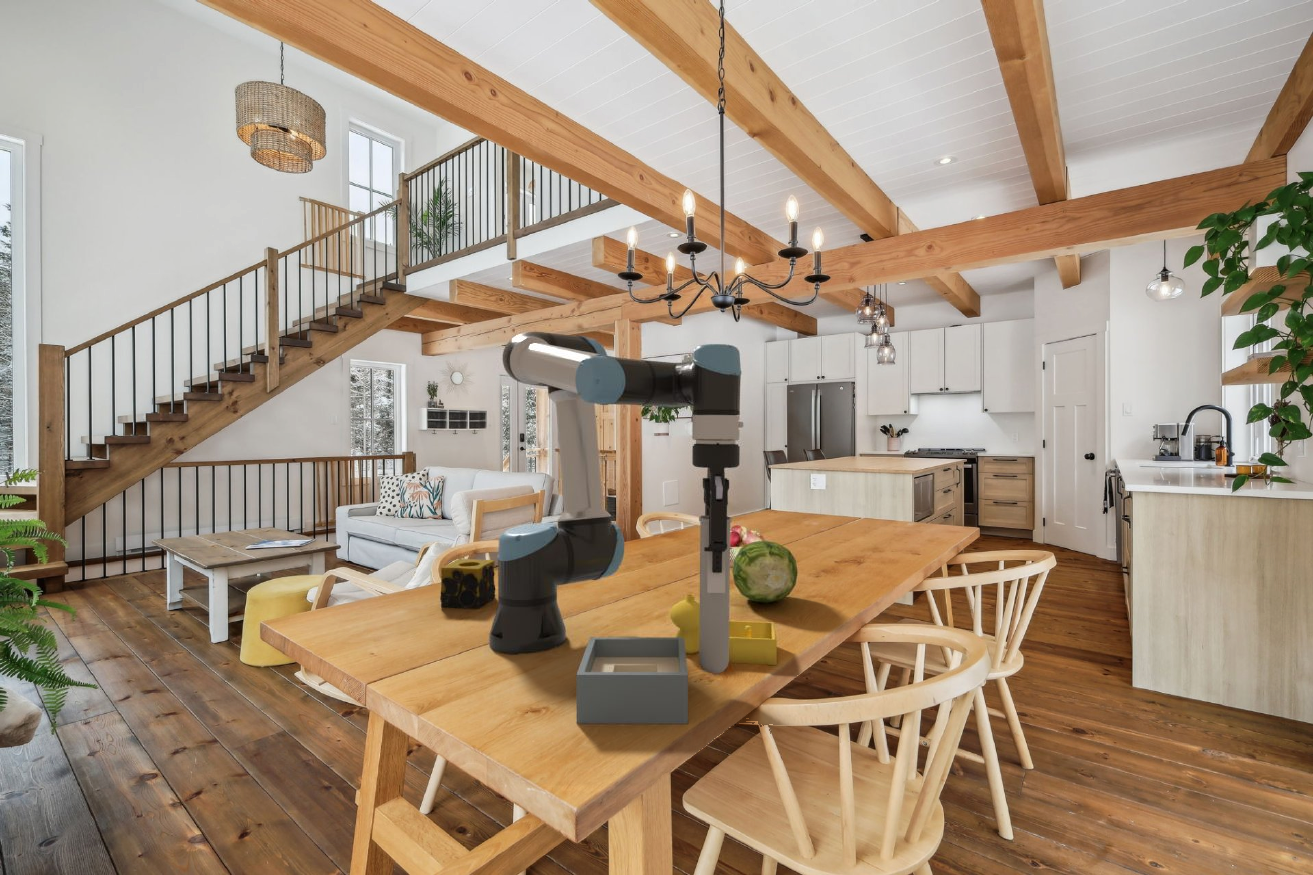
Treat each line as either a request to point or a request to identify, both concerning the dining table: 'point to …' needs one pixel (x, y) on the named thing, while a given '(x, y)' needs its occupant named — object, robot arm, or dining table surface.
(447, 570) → the yellow and black cube
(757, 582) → the lettuce
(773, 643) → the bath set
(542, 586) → the robot arm
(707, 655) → the tube
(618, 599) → the dining table surface
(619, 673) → the box
